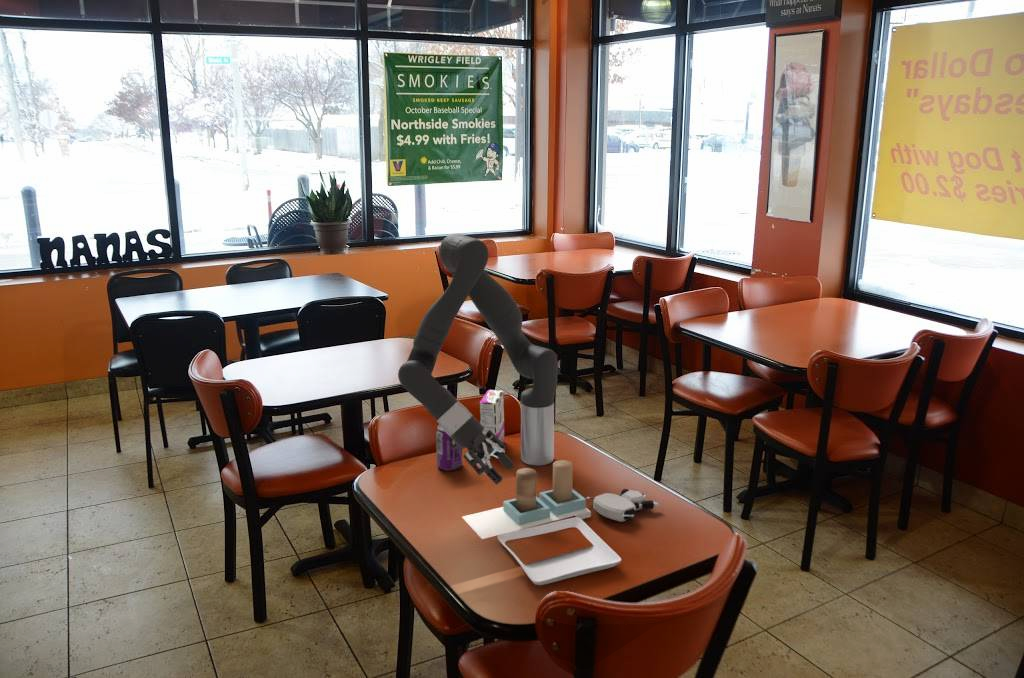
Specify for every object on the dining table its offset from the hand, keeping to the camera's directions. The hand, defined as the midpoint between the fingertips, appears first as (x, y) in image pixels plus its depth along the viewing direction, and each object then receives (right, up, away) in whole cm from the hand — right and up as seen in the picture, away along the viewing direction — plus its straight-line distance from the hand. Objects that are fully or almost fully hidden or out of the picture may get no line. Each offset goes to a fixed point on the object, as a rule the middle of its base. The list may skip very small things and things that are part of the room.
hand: (505, 474), depth 196 cm
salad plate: (+12, -17, -16) cm, 26 cm away
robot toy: (+29, -11, +5) cm, 31 cm away
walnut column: (+5, -10, +1) cm, 11 cm away
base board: (+5, -11, +1) cm, 12 cm away
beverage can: (-16, -3, +31) cm, 35 cm away
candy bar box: (-4, 0, +43) cm, 44 cm away
